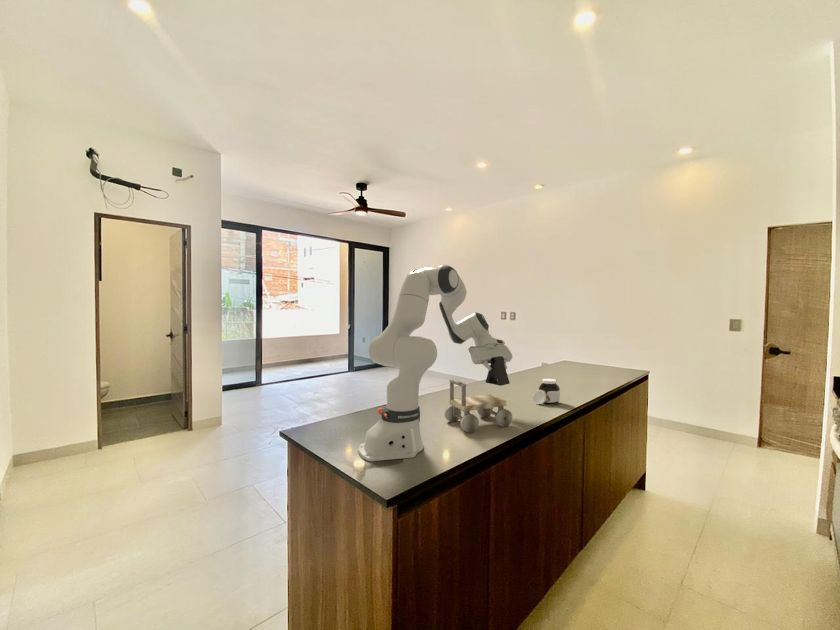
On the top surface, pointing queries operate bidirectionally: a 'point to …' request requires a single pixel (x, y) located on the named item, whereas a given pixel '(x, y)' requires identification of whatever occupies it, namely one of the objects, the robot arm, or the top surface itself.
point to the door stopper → (497, 372)
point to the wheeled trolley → (478, 403)
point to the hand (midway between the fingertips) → (498, 369)
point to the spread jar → (547, 392)
